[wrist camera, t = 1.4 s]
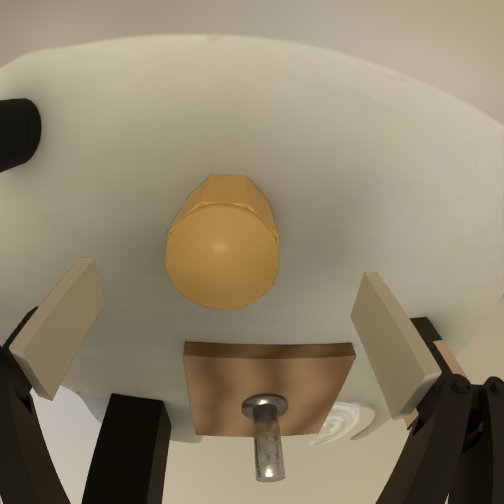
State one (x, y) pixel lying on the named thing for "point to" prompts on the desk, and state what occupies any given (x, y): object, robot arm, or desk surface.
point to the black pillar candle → (129, 453)
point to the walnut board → (263, 384)
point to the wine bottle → (18, 132)
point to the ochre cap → (223, 244)
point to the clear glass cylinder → (266, 434)
